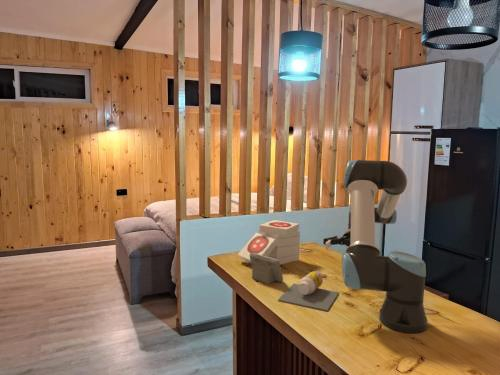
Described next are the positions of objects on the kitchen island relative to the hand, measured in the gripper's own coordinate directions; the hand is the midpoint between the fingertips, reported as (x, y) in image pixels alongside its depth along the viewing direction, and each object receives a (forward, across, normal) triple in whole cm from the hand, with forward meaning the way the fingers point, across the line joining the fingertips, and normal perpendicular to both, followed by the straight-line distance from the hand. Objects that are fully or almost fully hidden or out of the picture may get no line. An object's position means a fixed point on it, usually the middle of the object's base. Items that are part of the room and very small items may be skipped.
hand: (342, 248), depth 160 cm
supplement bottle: (+10, +8, -11) cm, 17 cm away
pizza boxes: (-13, +38, -15) cm, 43 cm away
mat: (+21, +8, -15) cm, 27 cm away
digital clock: (+11, +30, -16) cm, 36 cm away
